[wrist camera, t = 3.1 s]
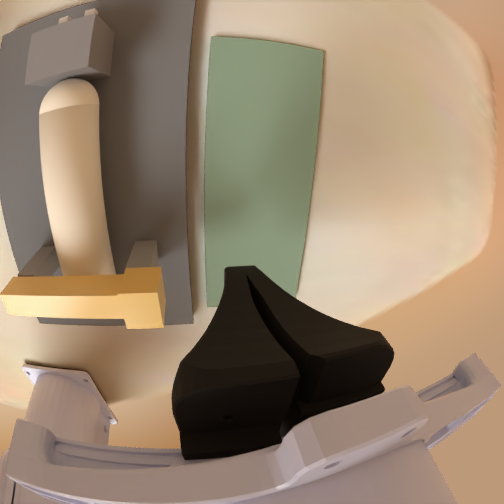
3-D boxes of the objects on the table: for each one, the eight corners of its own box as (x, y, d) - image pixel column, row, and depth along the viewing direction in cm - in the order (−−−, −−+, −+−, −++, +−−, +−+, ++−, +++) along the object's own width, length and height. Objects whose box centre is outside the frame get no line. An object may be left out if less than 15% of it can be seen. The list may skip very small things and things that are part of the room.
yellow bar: (165, 300, 12) (163, 327, 10) (22, 300, 10) (8, 323, 9) (161, 266, 11) (157, 292, 10) (11, 271, 10) (-6, 293, 8)
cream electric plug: (127, 288, 15) (117, 324, 12) (81, 289, 15) (66, 322, 12) (117, 17, 8) (99, -6, 5) (62, 30, 7) (35, 15, 5)
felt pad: (293, 296, 19) (294, 300, 19) (207, 303, 18) (207, 307, 17) (320, 52, 12) (323, 51, 11) (211, 38, 11) (211, 36, 10)
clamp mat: (193, 315, 18) (196, 359, 15) (43, 316, 16) (25, 353, 12) (196, -6, 9) (199, -41, 5) (9, 37, 6) (-27, 28, 3)
